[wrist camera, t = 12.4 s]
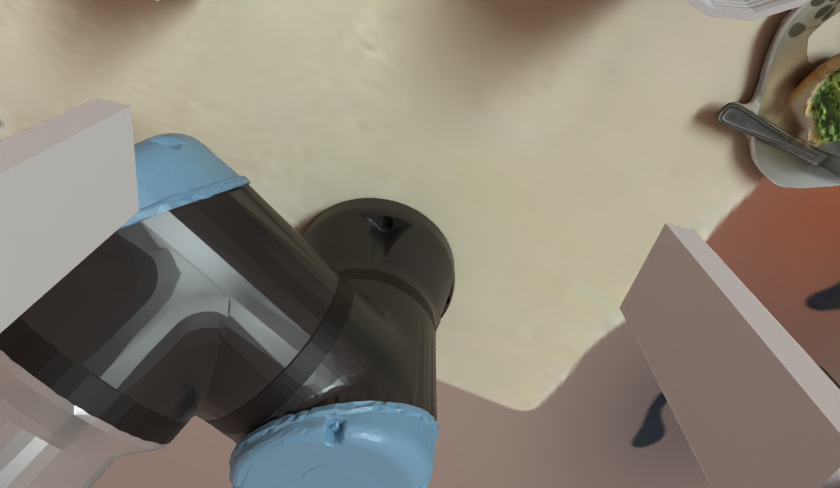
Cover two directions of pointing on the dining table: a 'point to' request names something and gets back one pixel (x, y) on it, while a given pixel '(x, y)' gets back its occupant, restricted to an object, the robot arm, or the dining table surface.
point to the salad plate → (794, 106)
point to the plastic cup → (744, 7)
